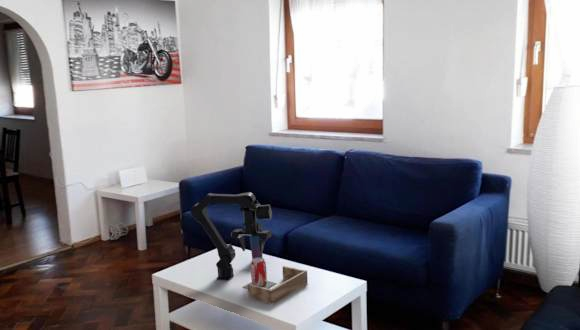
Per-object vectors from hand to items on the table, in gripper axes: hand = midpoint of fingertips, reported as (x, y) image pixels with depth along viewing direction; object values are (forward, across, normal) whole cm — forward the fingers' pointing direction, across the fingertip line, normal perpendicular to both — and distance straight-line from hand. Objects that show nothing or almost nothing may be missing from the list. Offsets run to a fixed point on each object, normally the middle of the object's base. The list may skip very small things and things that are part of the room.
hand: (252, 251), depth 257 cm
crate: (+14, -17, +10) cm, 24 cm away
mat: (+13, -6, +8) cm, 17 cm away
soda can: (+13, -6, +8) cm, 16 cm away
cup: (+13, +9, -21) cm, 26 cm away
